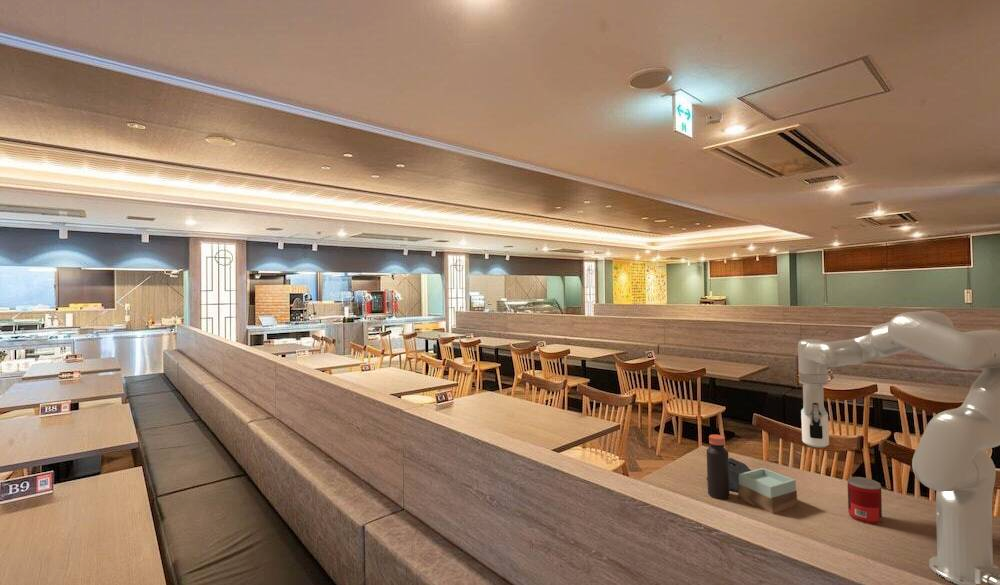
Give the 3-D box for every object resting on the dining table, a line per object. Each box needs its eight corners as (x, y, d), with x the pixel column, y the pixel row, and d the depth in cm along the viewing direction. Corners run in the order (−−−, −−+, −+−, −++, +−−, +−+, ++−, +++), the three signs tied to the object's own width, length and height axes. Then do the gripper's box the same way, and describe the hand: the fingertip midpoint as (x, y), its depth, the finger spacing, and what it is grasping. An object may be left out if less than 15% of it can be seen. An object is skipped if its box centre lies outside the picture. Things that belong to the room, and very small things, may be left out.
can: (807, 447, 144) (806, 409, 144) (798, 440, 151) (797, 403, 151) (833, 448, 142) (831, 409, 142) (823, 441, 149) (821, 404, 149)
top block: (795, 490, 149) (795, 479, 149) (771, 498, 144) (770, 487, 144) (763, 477, 160) (762, 467, 160) (738, 484, 155) (738, 474, 155)
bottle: (727, 491, 160) (725, 434, 160) (731, 500, 153) (729, 440, 153) (706, 489, 162) (704, 433, 162) (709, 498, 155) (707, 439, 155)
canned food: (888, 525, 135) (887, 487, 135) (857, 523, 137) (856, 486, 136) (872, 512, 142) (871, 477, 142) (843, 511, 144) (842, 475, 144)
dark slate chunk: (698, 484, 167) (698, 471, 167) (718, 465, 184) (718, 454, 184) (745, 496, 157) (744, 482, 157) (761, 475, 173) (761, 462, 173)
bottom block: (797, 506, 149) (796, 490, 149) (772, 514, 144) (772, 498, 144) (762, 491, 160) (761, 477, 160) (738, 499, 155) (738, 484, 155)
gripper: (797, 373, 156) (799, 425, 156) (800, 383, 141) (802, 441, 141) (824, 374, 152) (826, 428, 152) (830, 384, 137) (833, 444, 137)
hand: (815, 434), depth 147 cm, fingers closed on can, 7 cm apart
